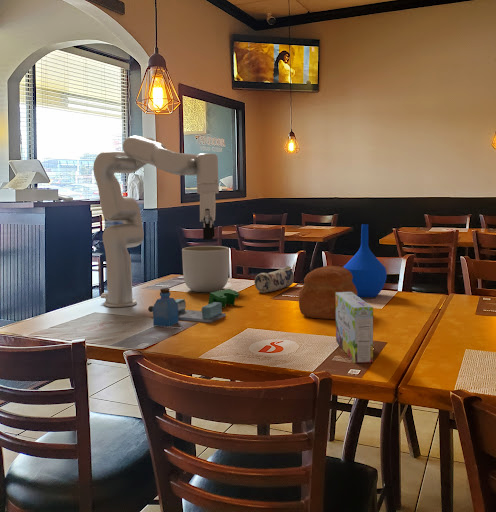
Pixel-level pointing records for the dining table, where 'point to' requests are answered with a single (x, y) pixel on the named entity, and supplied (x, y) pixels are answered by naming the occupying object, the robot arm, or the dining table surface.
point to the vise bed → (197, 316)
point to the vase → (366, 269)
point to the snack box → (354, 327)
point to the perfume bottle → (165, 310)
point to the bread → (324, 291)
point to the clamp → (223, 297)
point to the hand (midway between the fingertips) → (209, 238)
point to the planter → (205, 268)
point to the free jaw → (180, 303)
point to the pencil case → (274, 280)
